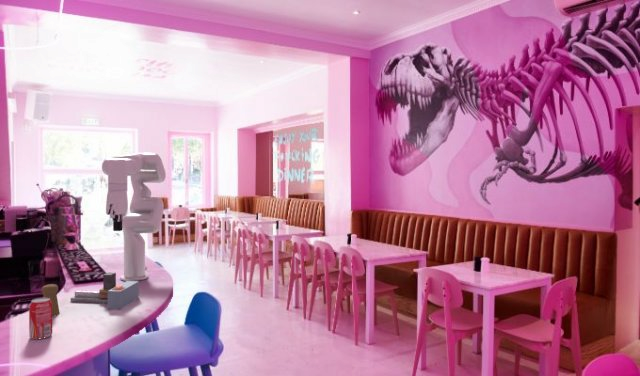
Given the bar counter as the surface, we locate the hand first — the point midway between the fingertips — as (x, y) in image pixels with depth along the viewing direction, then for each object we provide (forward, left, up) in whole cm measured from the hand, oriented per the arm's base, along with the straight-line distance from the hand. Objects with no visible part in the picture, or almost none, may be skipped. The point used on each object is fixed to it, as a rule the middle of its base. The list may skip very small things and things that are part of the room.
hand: (117, 230), depth 188 cm
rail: (+11, -2, -27) cm, 29 cm away
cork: (+29, -10, -27) cm, 41 cm away
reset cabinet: (+13, +10, -27) cm, 32 cm away
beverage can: (+49, +1, -27) cm, 56 cm away
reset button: (+17, +10, -25) cm, 32 cm away
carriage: (+11, +3, -25) cm, 28 cm away
